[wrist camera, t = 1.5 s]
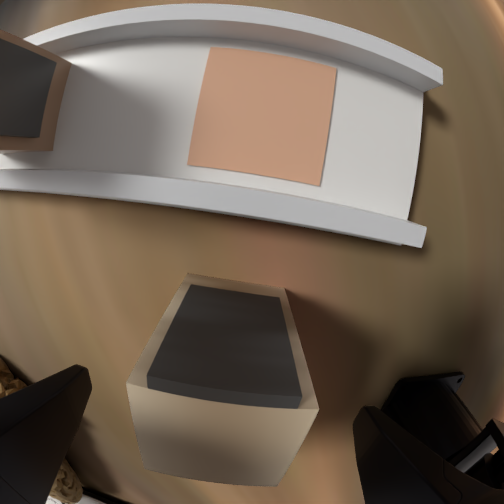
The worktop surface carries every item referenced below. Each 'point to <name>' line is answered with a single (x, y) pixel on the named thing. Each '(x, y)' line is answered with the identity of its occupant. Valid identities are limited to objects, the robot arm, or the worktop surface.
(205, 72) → the rail
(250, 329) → the beige block
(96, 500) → the milk container
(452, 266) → the worktop surface
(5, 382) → the sponge
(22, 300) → the worktop surface
